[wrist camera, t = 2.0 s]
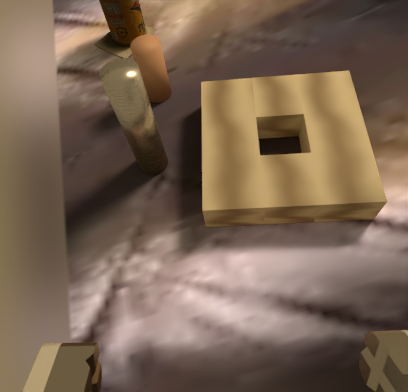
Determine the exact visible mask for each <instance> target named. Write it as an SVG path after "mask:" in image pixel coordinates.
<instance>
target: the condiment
mask: <svg viewBox="0 0 408 392" xmlns="http://www.w3.org/2000/svg"><path fill="white" fill-rule="evenodd" d="M99 1H100V4H101V7H102V9H103V12H104V15H105V18H106V21H107V23H108V26H109V29H110V32H109V33H107V35H106V36H104V37H103V38H102V39H101V40H100V41H98V42H97V43H96V44H95V45H96V46H98V47H99V48H102V49H104V50H106V51H108V52H111V53H113V54H116V55H118V56H120V57H123V58H128V57H129V56H130V55H131V54H132V51H131V48H130V45H131V43H132V41H133V40H134V39H135V38H137V37H139V36H141V35H146V34H150V35H152V34H153V33H154V32H155V31H156V30H157V29H154V28H151V27H148V26H145V24H144V20H143V16H142V12H141V8H140V4H139V1H138V0H99ZM127 47H128V48H127ZM124 48H126V49H124Z"/></svg>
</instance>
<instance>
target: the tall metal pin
mask: <svg viewBox="0 0 408 392" xmlns="http://www.w3.org/2000/svg"><path fill="white" fill-rule="evenodd" d="M99 77H100V80H101V82H102V85H103V87H104V89H105V91H106V94H107V96H108V98H109V100H110V102H111V105H112V107H113V109H114V111H115V114H116V116H117V118H118V120H119V123H120V125H121V127H122V129H123V131H124V134H125V136H126V138H127V140H128V143H129V145H130V147H131V149H132V151H133V154H134V156H135V158H136V160H137V163H138V165H139V167H140V169H141V171H142V172H143V173H145V174H147V175H157V174H159V173H161V172H163V171H164V170H165V169H166V167H167V165H168V158H167V155H166V152H165V149H164V146H163V143H162V139H161V136H160V133H159V130H158V127H157V123H156V120H155V117H154V114H153V111H152V108H151V104H150V101H149V98H148V95H147V92H146V88H145V85H144V82H143V79H142V76H141V73H140V69H139V66H138V64H137V63H136V62H135V61H133V60H131V59H127V58H120V59H115V60H112V61H110V62H108V63H107V64H106V65H104V66H103V68H102V69H101V71H100V74H99Z"/></svg>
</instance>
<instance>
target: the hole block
mask: <svg viewBox="0 0 408 392" xmlns="http://www.w3.org/2000/svg"><path fill="white" fill-rule="evenodd" d="M201 92H202V211H203V216H204V221H205V225H206V227H217V226H239V225H261V224H283V223H305V222H327V221H349V220H371V219H374V218H375V217H376V216H377V214H378V213H379V212H380V210H381V209H382V208H383V206H384V205H385V204H386V202H387V199H386V196H385V193H384V189H383V186H382V182H381V179H380V175H379V172H378V168H377V165H376V162H375V158H374V155H373V151H372V148H371V144H370V141H369V137H368V134H367V131H366V127H365V124H364V120H363V117H362V113H361V110H360V106H359V103H358V100H357V96H356V93H355V89H354V86H353V82H352V79H351V75H350V72H349V71H339V72H326V73H312V74H299V75H286V76H273V77H260V78H247V79H234V80H221V81H207V82H201ZM295 136H299V140H300V146H301V152H302V153H296V154H279V155H262V156H260V150H259V140H258V139H263V138H279V137H295Z"/></svg>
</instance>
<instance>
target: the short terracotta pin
mask: <svg viewBox="0 0 408 392" xmlns="http://www.w3.org/2000/svg"><path fill="white" fill-rule="evenodd" d="M130 48H131V51H132V54H133V57H134V60H135V62H136V63H137V64H138V66H139V69H140V73H141V76H142V79H143V82H144V85H145V88H146V92H147V95H148V98H149V101H150V102H152V103H162V102H164V101H166V100H167V99H169V97H170V96H171V88H170V84H169V79H168V75H167V71H166V66H165V62H164V58H163V53H162V49H161V45H160V40H159V39H158V38H157V37H156V36H154V35H150V34H146V35H141V36H139V37H137V38H135V39H134V40H133V41H132V43H131V45H130Z"/></svg>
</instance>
